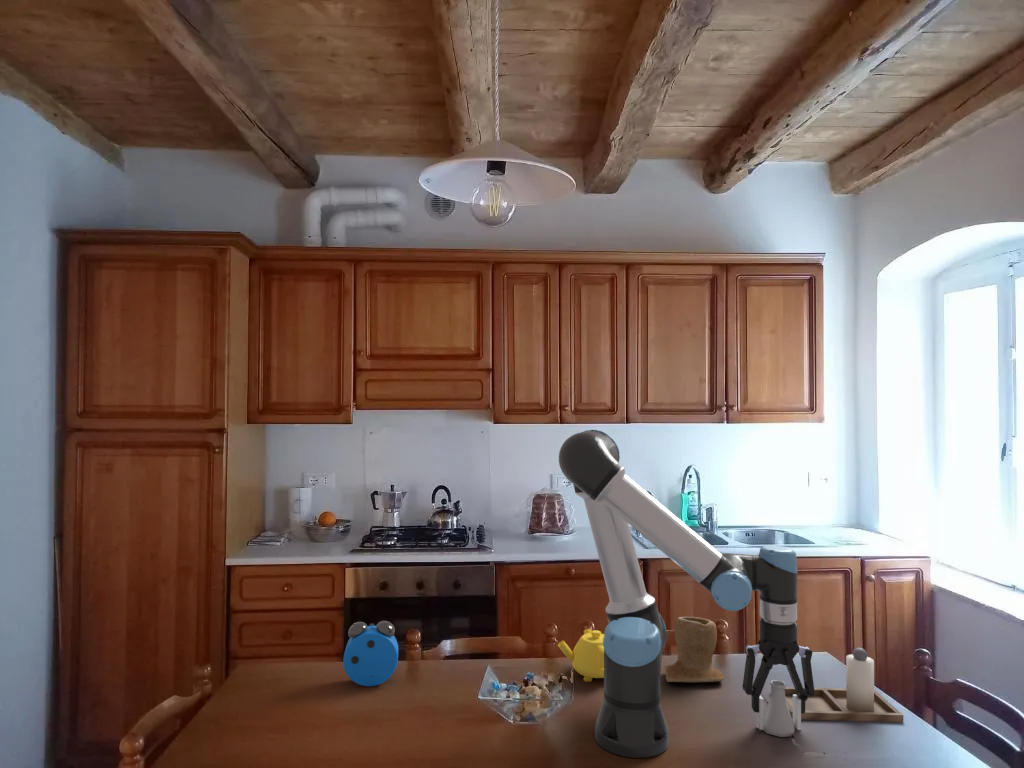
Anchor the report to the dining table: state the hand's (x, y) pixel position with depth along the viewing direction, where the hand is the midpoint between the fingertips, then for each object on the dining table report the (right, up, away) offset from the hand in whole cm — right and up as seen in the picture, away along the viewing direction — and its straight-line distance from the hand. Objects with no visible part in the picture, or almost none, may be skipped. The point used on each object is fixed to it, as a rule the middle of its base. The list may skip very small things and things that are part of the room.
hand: (778, 727), depth 145 cm
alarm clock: (-92, -1, +22) cm, 95 cm away
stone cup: (-12, -1, +27) cm, 29 cm away
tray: (+16, -1, +9) cm, 19 cm away
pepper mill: (+22, 0, +9) cm, 24 cm away
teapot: (-37, -1, +29) cm, 47 cm away
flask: (0, -1, 0) cm, 1 cm away
